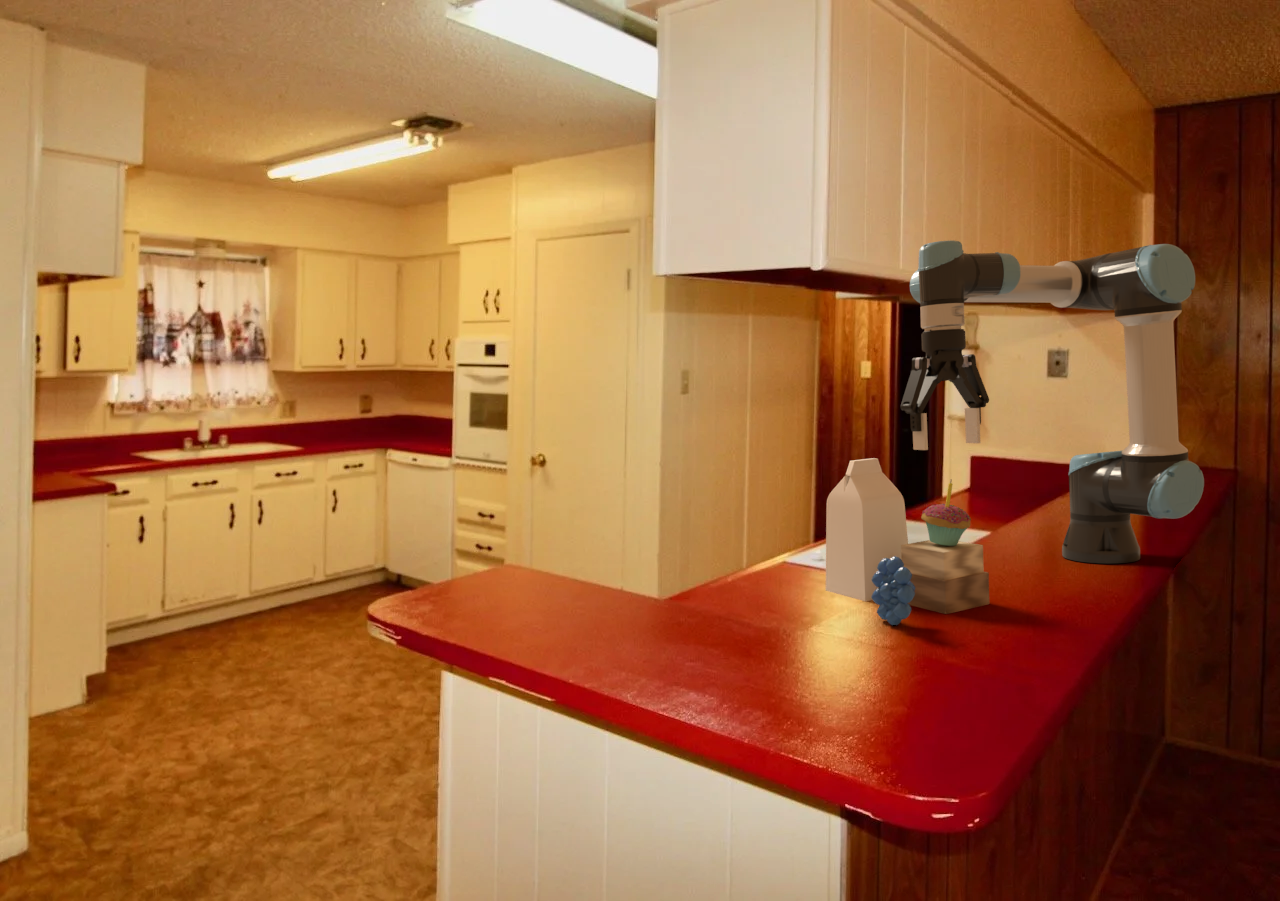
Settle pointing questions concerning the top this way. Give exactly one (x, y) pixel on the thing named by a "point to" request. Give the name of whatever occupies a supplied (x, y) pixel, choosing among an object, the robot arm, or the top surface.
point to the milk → (862, 528)
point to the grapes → (893, 590)
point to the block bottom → (951, 593)
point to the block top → (943, 559)
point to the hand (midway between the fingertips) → (947, 446)
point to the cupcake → (945, 522)
